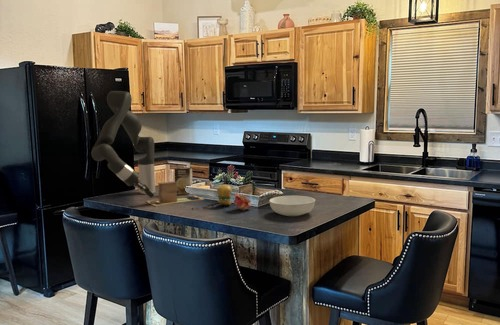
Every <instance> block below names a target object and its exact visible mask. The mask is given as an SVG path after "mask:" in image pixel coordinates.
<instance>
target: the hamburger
mask: <svg viewBox="0 0 500 325" xmlns="http://www.w3.org/2000/svg"><path fill="white" fill-rule="evenodd" d="M232 192H233V189H232V187H231V186H230V185H228V184H224V183H220V185H219V187H217V190H216V193H217V197H218V201H217V202H218V204H219V205H220V206H221V205H222V206H231V204H232V201H231V200H232V195H231V194H232Z"/></svg>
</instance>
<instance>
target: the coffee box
mask: <svg viewBox="0 0 500 325" xmlns="http://www.w3.org/2000/svg"><path fill="white" fill-rule="evenodd" d="M174 182H176V183H177V195H189V194H188V193H187V192H186V191H185V188H184V187H186V186H191V185H192V186H193V167H189V166H188V167H186V166H185V167H183V166H178V167H175V168H174Z"/></svg>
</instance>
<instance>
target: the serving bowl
mask: <svg viewBox="0 0 500 325" xmlns="http://www.w3.org/2000/svg"><path fill="white" fill-rule="evenodd" d="M315 203H316V199H315V198H313V197H310V196H306V195H281V196H275V197H272V198H270V199H269V205H270V208H271V209H272V211H273V212H274V213H277V214H279V215H281V216H284V217H285V216H286V217H299V216H303V215H305V214H308V213H309V212H312V210H313V209H314V207H315Z"/></svg>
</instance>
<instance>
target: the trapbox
mask: <svg viewBox="0 0 500 325" xmlns="http://www.w3.org/2000/svg"><path fill="white" fill-rule="evenodd" d="M191 197H193V198H196V199H189V198H191ZM205 200H206V199H205V198H203V197H200V196H197V195H194V194H189V195H183V196H177V202H171V203H163V204H162V203H160V202H159V198H157V199H150V200H145V202H146V203H147V204H149V205H151V206H153V207H162V206H163V207H164V206H170V205H176V204H178V205H179V204H185V203H192V202H193V203H194V202H201V201H202V202H203V201H205ZM154 202H156V203H158V204H156V203H154Z"/></svg>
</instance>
